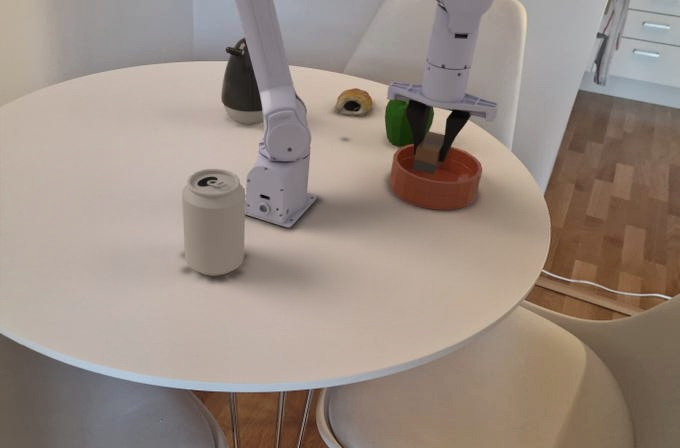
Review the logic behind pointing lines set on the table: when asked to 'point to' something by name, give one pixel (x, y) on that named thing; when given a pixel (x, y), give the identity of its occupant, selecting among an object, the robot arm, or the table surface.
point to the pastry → (354, 102)
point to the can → (214, 221)
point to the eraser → (429, 153)
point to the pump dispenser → (241, 86)
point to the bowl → (436, 180)
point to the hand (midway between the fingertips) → (430, 156)
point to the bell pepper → (401, 123)
